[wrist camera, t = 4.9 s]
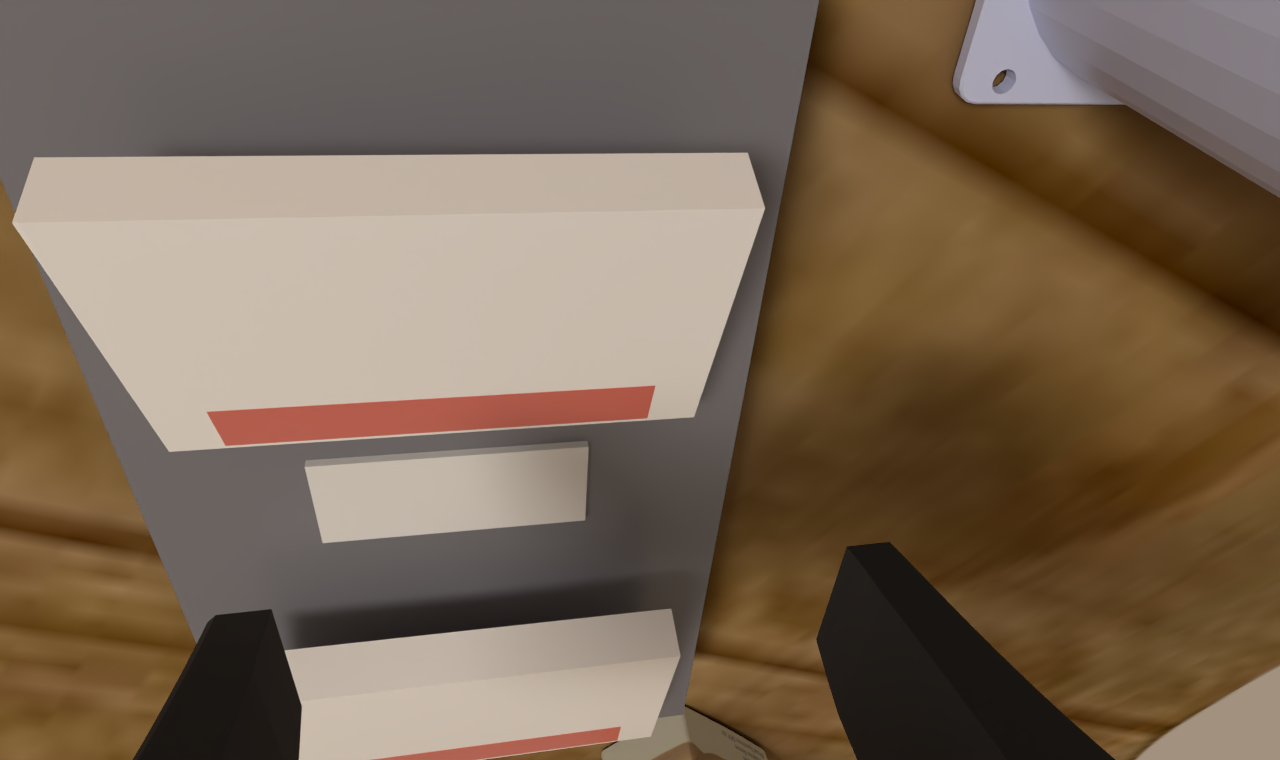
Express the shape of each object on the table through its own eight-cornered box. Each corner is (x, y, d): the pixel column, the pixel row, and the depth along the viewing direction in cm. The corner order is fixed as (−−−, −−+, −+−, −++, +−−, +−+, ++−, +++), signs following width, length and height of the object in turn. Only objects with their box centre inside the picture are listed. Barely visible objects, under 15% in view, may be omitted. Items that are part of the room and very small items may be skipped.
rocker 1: (747, 152, 13) (765, 208, 13) (683, 369, 18) (694, 417, 18) (34, 157, 11) (11, 223, 11) (178, 396, 16) (168, 452, 16)
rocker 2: (671, 608, 21) (680, 656, 20) (644, 695, 25) (650, 736, 25) (235, 655, 19) (227, 710, 18) (290, 740, 24) (285, 786, 23)
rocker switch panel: (768, -65, 16) (827, -21, 14) (663, 635, 30) (684, 720, 27) (-8, -98, 14) (-106, -53, 11) (266, 680, 27) (249, 778, 25)
